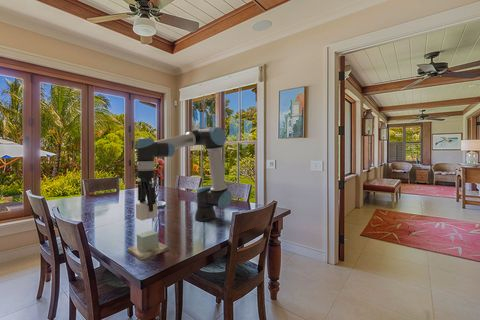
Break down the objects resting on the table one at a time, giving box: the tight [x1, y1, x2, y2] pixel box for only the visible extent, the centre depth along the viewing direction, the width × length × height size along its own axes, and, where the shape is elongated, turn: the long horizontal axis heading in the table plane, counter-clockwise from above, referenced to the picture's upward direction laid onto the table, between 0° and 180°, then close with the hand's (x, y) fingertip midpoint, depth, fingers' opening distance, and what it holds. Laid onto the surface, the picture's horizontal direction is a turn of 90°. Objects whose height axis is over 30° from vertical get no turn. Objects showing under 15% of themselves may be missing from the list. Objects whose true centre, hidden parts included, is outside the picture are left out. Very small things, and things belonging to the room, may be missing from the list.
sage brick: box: [136, 229, 159, 252], centre depth 115 cm, size 8×6×7 cm
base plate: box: [126, 241, 169, 261], centre depth 115 cm, size 14×14×2 cm
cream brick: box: [135, 201, 159, 221], centre depth 114 cm, size 8×6×7 cm
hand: (146, 216), depth 114 cm, fingers closed on cream brick, 6 cm apart
